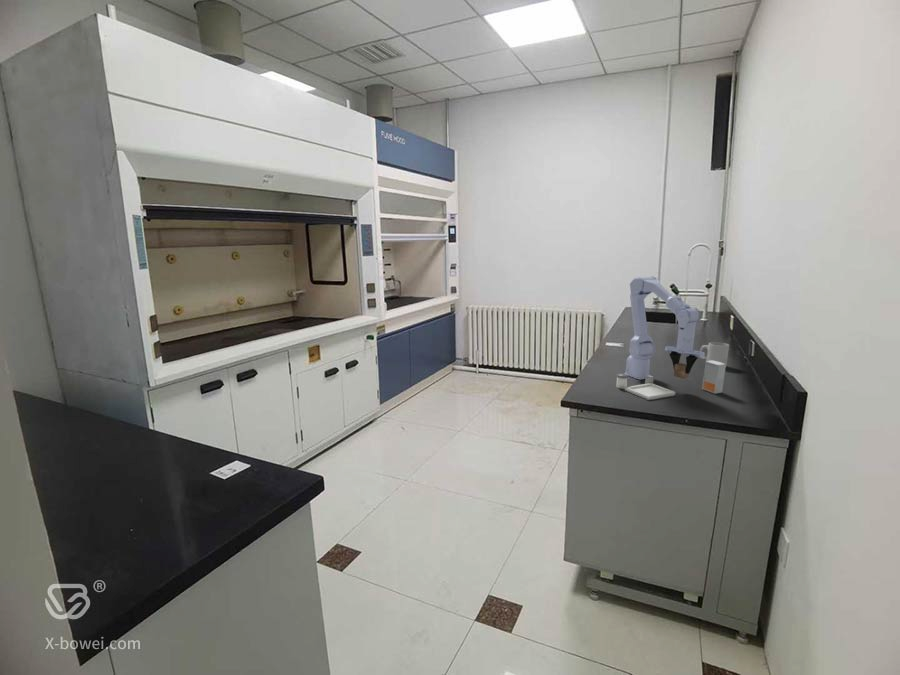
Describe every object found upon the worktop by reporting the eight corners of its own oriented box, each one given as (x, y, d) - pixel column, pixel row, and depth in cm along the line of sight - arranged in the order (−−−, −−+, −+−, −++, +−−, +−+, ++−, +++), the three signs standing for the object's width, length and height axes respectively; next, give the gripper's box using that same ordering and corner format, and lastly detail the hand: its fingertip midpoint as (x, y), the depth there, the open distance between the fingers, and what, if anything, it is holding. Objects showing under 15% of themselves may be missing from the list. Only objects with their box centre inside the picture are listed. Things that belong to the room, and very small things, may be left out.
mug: (728, 366, 214) (731, 343, 212) (723, 369, 208) (726, 346, 206) (700, 361, 222) (703, 340, 220) (695, 364, 216) (698, 342, 214)
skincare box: (701, 389, 181) (705, 360, 179) (709, 388, 183) (712, 359, 180) (714, 394, 176) (718, 364, 173) (722, 392, 177) (726, 363, 175)
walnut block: (673, 376, 178) (675, 364, 177) (678, 374, 181) (679, 362, 180) (683, 378, 175) (685, 366, 174) (688, 376, 178) (690, 364, 176)
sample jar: (613, 386, 185) (614, 374, 184) (621, 384, 187) (622, 373, 186) (621, 389, 181) (622, 377, 180) (629, 388, 183) (630, 375, 182)
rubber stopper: (643, 384, 188) (644, 377, 187) (648, 383, 189) (649, 376, 189) (648, 386, 185) (649, 379, 185) (654, 385, 186) (655, 378, 186)
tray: (624, 390, 180) (625, 387, 180) (650, 386, 185) (651, 383, 185) (648, 400, 169) (648, 396, 169) (675, 395, 174) (675, 391, 174)
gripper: (662, 336, 178) (658, 369, 181) (700, 343, 167) (695, 378, 170) (671, 334, 182) (667, 366, 185) (708, 340, 171) (704, 374, 174)
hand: (681, 371), depth 178 cm, fingers closed on walnut block, 4 cm apart
